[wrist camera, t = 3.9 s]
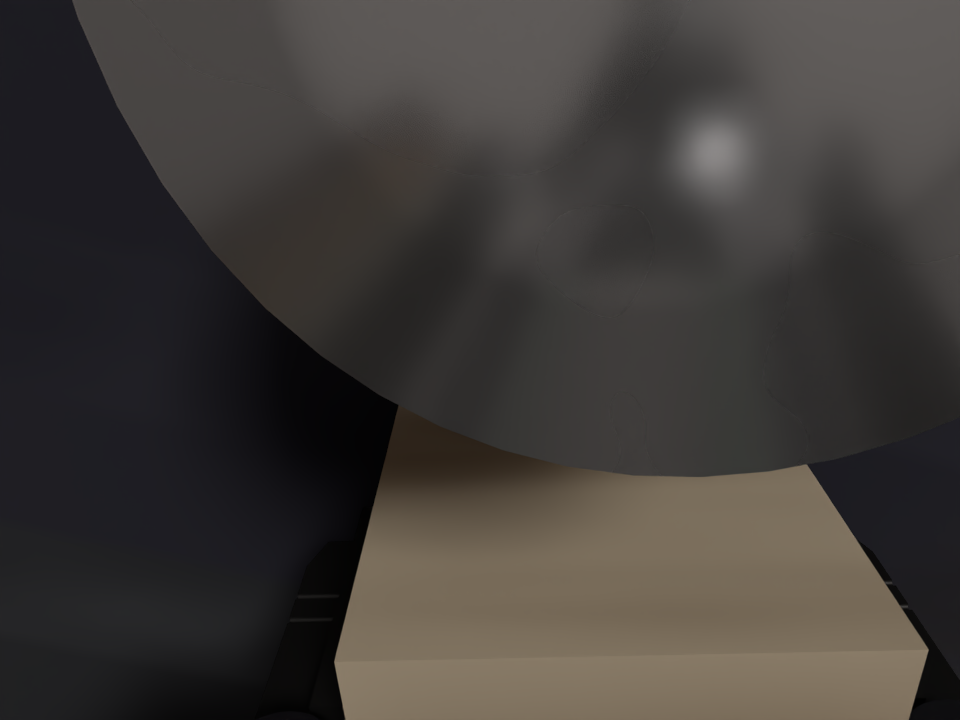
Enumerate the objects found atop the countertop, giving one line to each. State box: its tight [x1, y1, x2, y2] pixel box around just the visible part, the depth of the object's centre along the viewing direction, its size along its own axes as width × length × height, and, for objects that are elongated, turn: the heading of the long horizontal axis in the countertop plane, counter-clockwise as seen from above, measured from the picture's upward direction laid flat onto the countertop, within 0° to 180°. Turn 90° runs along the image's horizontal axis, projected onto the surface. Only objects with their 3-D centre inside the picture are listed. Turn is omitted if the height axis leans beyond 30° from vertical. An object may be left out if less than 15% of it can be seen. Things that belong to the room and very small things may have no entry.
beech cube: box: [334, 405, 929, 720], centre depth 10 cm, size 5×5×5 cm
